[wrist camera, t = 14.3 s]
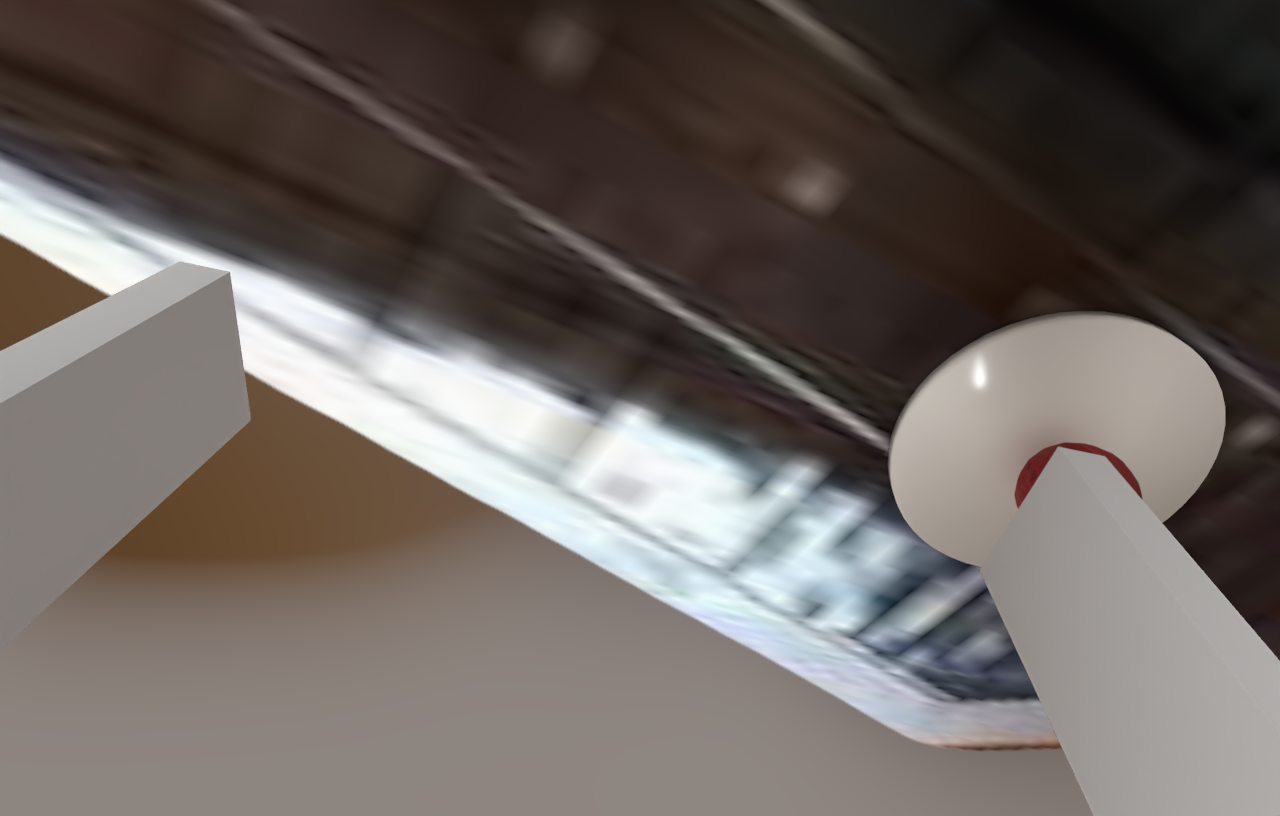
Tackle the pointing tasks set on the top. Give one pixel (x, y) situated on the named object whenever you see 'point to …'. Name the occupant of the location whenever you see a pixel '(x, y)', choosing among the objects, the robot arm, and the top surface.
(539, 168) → the top surface
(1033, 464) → the onion
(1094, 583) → the robot arm
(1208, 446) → the plate
